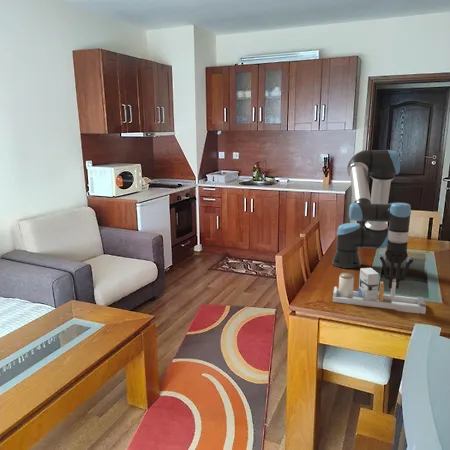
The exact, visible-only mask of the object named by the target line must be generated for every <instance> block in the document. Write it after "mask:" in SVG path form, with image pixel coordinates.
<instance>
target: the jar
mask: <svg viewBox="0 0 450 450" xmlns="http://www.w3.org/2000/svg"><path fill="white" fill-rule="evenodd" d="M338 278H339V279H338V289H339V292H338V297H343V298H352V299H353V291H354V283H355V282H354V281H355V277H354V275H353V273H350V272H341V273H340V275H339V277H338Z"/></svg>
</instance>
